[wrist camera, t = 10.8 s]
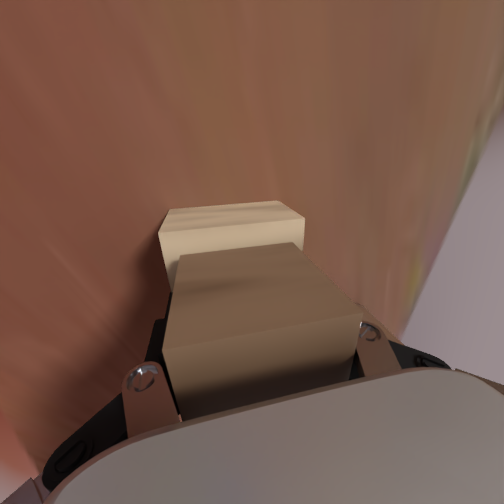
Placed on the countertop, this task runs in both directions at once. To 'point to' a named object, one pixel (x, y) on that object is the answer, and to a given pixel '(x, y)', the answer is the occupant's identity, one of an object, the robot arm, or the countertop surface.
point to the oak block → (226, 229)
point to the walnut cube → (255, 328)
